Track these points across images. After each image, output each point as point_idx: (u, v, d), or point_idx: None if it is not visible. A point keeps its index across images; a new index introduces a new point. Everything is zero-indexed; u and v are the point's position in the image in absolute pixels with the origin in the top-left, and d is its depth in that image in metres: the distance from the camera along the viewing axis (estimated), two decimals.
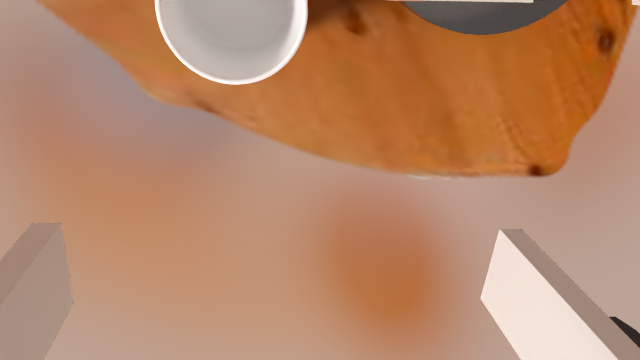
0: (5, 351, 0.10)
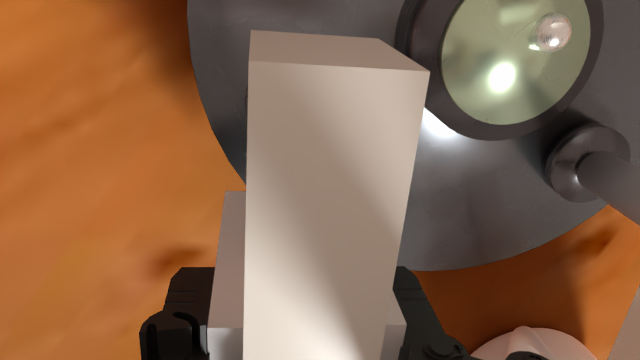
0: None
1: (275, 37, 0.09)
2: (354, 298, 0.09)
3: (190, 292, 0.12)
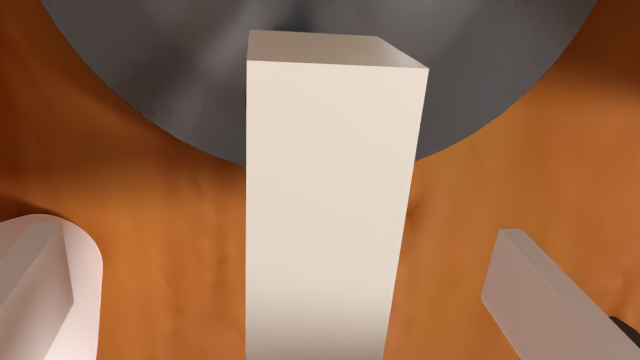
0: (5, 351, 0.10)
1: (274, 36, 0.09)
2: (355, 296, 0.09)
3: None
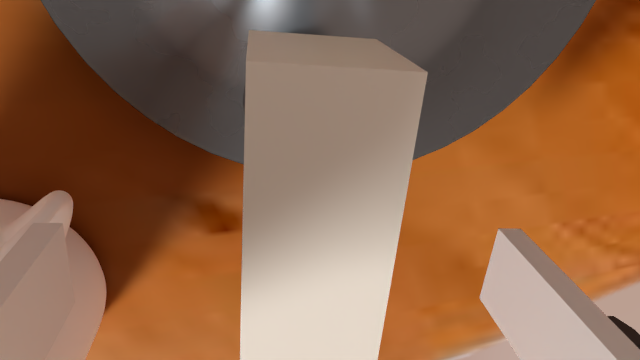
0: (7, 350, 0.10)
1: None
2: None
3: None
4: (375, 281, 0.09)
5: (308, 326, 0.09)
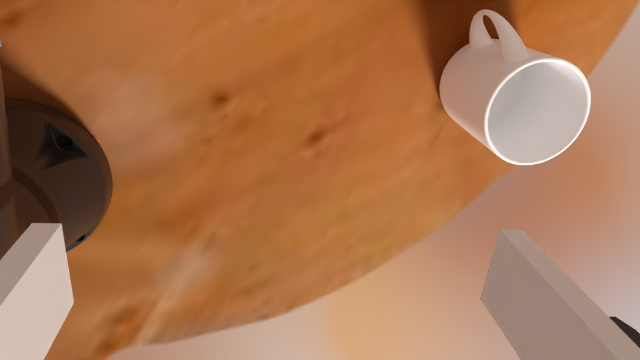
0: (5, 351, 0.10)
1: None
2: None
3: None
4: None
5: None
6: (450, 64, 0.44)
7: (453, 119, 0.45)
